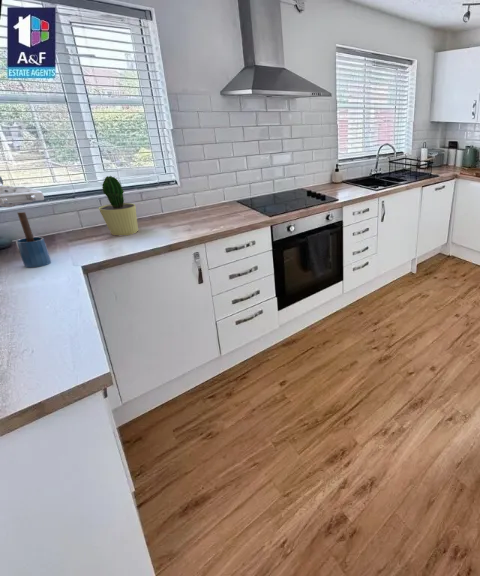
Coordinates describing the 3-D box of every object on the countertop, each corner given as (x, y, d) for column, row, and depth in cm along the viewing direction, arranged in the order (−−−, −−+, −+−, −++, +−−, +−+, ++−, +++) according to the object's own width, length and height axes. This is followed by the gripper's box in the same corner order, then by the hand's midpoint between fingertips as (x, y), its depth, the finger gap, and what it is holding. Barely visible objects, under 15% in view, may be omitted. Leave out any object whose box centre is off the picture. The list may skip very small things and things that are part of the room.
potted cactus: (105, 234, 191) (86, 174, 178) (139, 228, 200) (123, 171, 187) (109, 241, 181) (89, 178, 168) (145, 235, 190) (129, 175, 177)
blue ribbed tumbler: (22, 268, 141) (13, 243, 138) (26, 262, 148) (18, 238, 144) (49, 265, 145) (41, 241, 142) (52, 260, 152) (45, 236, 148)
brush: (30, 264, 144) (12, 213, 136) (32, 261, 147) (15, 211, 139) (43, 263, 146) (27, 212, 138) (45, 260, 149) (29, 211, 141)
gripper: (-33, 191, 146) (-18, 194, 140) (31, 186, 163) (47, 189, 157) (-27, 207, 148) (-12, 211, 142) (36, 201, 165) (52, 204, 159)
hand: (20, 199), depth 150 cm, fingers open, 8 cm apart
